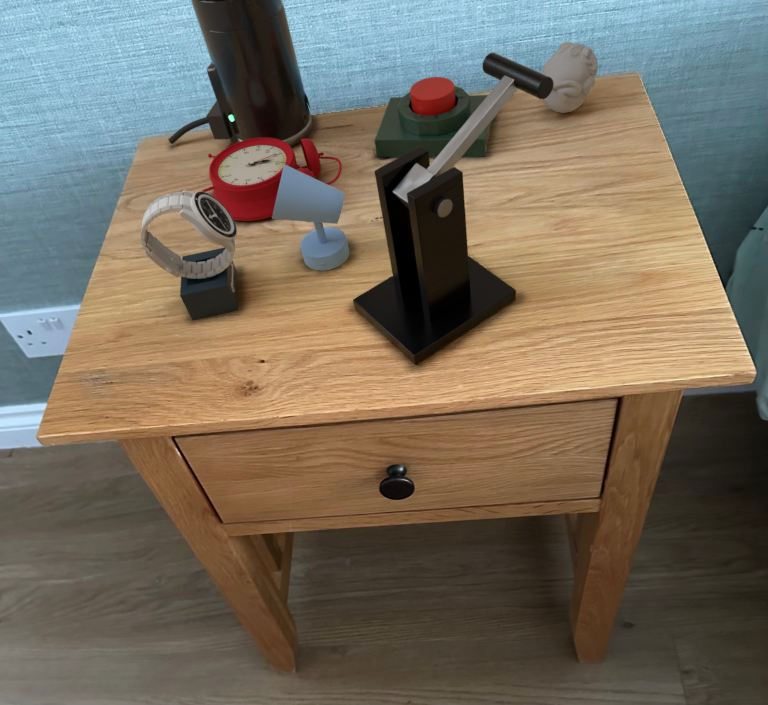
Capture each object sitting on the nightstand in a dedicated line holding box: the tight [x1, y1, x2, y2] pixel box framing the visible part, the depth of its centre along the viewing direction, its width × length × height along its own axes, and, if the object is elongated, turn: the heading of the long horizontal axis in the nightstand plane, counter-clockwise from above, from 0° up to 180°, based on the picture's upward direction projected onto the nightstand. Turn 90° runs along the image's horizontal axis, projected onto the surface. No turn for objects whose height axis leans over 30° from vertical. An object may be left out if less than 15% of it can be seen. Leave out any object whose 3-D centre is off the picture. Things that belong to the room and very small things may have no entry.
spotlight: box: [271, 164, 350, 271], centre depth 64 cm, size 5×10×7 cm
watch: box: [140, 189, 239, 321], centre depth 62 cm, size 6×8×11 cm
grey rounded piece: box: [540, 41, 599, 114], centre depth 76 cm, size 6×7×7 cm
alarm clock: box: [201, 137, 343, 222], centre depth 74 cm, size 10×6×15 cm
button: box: [409, 76, 456, 115], centre depth 76 cm, size 5×5×2 cm
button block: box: [374, 85, 493, 158], centre depth 77 cm, size 12×9×4 cm
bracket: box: [352, 146, 517, 366], centre depth 56 cm, size 11×9×14 cm
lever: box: [393, 52, 554, 209], centre depth 52 cm, size 13×6×2 cm
